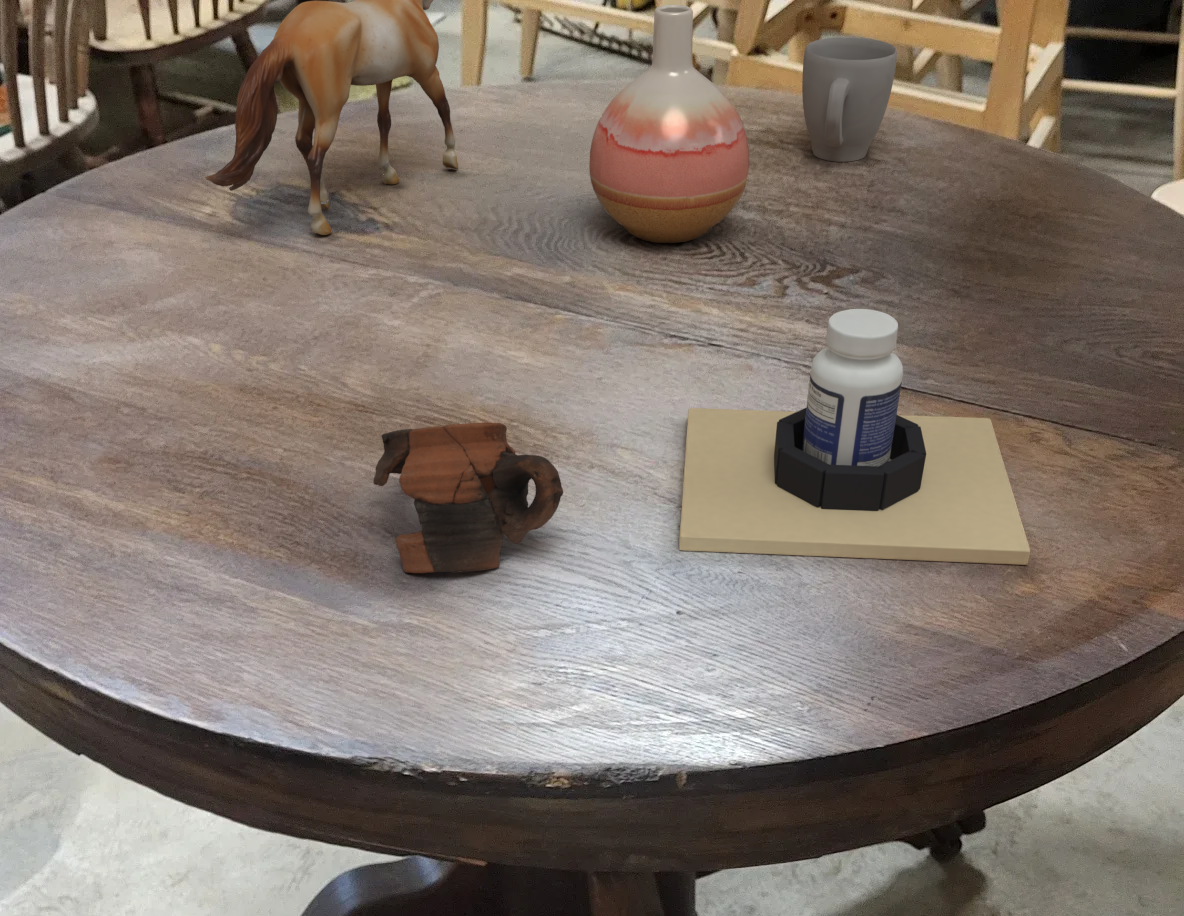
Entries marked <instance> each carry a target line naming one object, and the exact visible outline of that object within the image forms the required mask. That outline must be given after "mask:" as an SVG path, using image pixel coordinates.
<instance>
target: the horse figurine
mask: <svg viewBox="0 0 1184 916" xmlns="http://www.w3.org/2000/svg"><path fill="white" fill-rule="evenodd" d="M433 1H434V0H352V1H349V2H340V1H339V2H338V1H331V0H330V1H329V0H309V1H308V0H307V1H303V2H300V3H299V4H297V5H296V6H295V7H294V8H293V9H292V10H291V11H290V12H289V13H288V14H287V15H286V16H285V18H284V19H283V20H282V21H281V22H280V24H279V25H278V27H277V30H276V32H275V34H274V36H273V39H272V40H271V41H270V43H269V44H268V45H267V46H266V47H265V48H264V49H263V50H262V51H261V53H260V54H259V56H257V58H256V59H255V60H254V61H253V63H252V64H251V65H250V66H249V68H248V71H247V72H246V74H245V76H244V79H243V81H242V83H241V85H240V87H239V90H238V94H237V96H236V109H235V123H234V127H235V146H234V154H233V157H232V159H231V160H230V161H229V162H228V163H226V164H225V166H223V167H222V168H221V169H220V170H218V171H217V172H215V173H214V174H210V175H208V176H205V178H204V179H205V180H207V181H209V182H211V183H212V184H214V185H216V186H220V187H228V189H229V191H231V192H233V191H235V190H237V189H239V188H241V187H243V186H244V185H245V184H247V183H248V182H249V181H250V180H251V178H252V177H253V175H254V171H255V167H256V165H257V164H258V162H259V161H260V159H261V158H262V156H263V154H264V153H265V151H266V150H267V149H268V148H269V146H270V143H271V141H272V139H273V134H274V132H275V130H276V125H277V121H278V103H277V96H276V93H275V84H276V83H277V84H278V83H280V84H281V86H282V87H283V88H284V89H285V91H287V92H288V93H289V94H290V95H292V96H293V97H295V98H296V99H297V101H298V111H297V112H298V114H297V115H298V116H297V122H298V124H297V129H296V133H295V137H294V138H295V140H294V141H295V146H296V148H297V150H298V151H299V152H300V154H301V155H302V157H303V159H304V162H305V163H306V166H307V170H308V173H309V178H310V194H309V195H310V198H309V202H308V208H307V213H308V214H309V216H311V217H313V219H312V221H311V223H310V228H311V231H312V232H313V233H315V234H318V235H322V236H326V235H329V234H331V233H332V231H333V230H332V228H331V225H330V224H329V223H328V221H327V219H326V217H325V216H324V214H323V211H322V210H324V211H328V210H329V209H330V200H329V194H328V191H327V189H326V187H325V178H324V174H323V165H324V160H325V156H326V154H327V152H328V151H329V149H330V147H331V145H332V144H333V142H334V140H335V137H336V134H337V130H338V126H339V122H340V116H341V114H342V110H343V108H344V106H345V105H346V104H347V102H348V100H349V98H350V92H351V86H356V87H357V86H358V87H366V86H375V90H376V91H375V92H376V97H377V98H376V99H377V105H378V109H377V114H376V115H377V116H376V123H377V127H378V132H379V151H378V156H377V163H378V164H377V165H378V166H379V167H380V168H381V169H382V173H381V177H382V180H383V183H384V184H385V185H395V184H399V183H400V178H399V176H398V174H397V172H396V169H394V167H392V166H391V165H390V153H389V134H390V130H391V128H392V116H391V112H390V98H391V92H392V88H393V87H392V86H393V81H394V80H395V79H398V78H402V77H408V78H412V79H413V80H414V81H415V82H416V83H417V84H418V85H419V86H420V88H421V89H422V91H423V92H424V93H425V95H426V96H427V97H428V98H429V99H430V100H431V102H432V104H433V106H434V107H435V109H436V110H437V114H438V116H439V118H440V121H441V123H442V126H443V129H444V145H445V146H446V149H445V151H444V152H443V154H442V165H443V166H444V167H445V168H448V169H453V170H457V171H458V169H459V163H458V162H459V161H458V156H457V152H456V139H455V134H454V130H453V125H452V121H451V120H452V119H451V108H450V104H449V101H448V98H447V96H446V90H445V87H444V84H443V82H442V79H441V77H440V71H439V69H438V67H437V62H438V58H439V49H440V42H439V37H438V34H437V32H436V30H435V28H434V26H433V24H432V23H431V21H430V19H429V17H428V15H427V14H426V11H428V10H429V9H430V8H431V4H432V3H433ZM313 135H314V136H313ZM313 138H314V139H313ZM383 174H384V175H383ZM327 200H329V201H328V203H326V204H321V202H326V201H327Z"/></svg>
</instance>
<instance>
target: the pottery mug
mask: <svg viewBox="0 0 1184 916" xmlns="http://www.w3.org/2000/svg"><path fill="white" fill-rule="evenodd" d="M507 431H508V428H507V425H505V424H503V423H500V422H484V421H483V422H469V423H456V424H455V423H454V424H445V425H442V426H441V425H435V426H434V425H433V426H425V427H418V428H416V427H415V428H405V429H398V430H397V429H396V430H393V431H389V432H386V433H383V434H381V440H382V443H383V450H384V451H383V454H382V455H381V457H380V458H379V460H378V461H377V463H376V466H375V472H374V476H373V484H374V486H380V487H383V486H385V485H386V484H387V483H388V480H389V478H390V475H391V474H397V475H399V478H398V483H399V485H400V489H401V490H402V492H403V493H404V495H406V496H407V497H409V498H410V499H414V501H413V505H414V508H415V511H416V514H417V517H418V522H419V523H420V526H421V530H420V531H417V532H412V533H405V534H402V533H401V534H399V535H398V536H397V537H396V539H395V544H396V549H397V552H398V553H399V557H400V561H401V565H402V568H403V571H404V572H405V573H407V574H408V573H410V574H427V573H444V572H445V573H447V572H449V573H453V574H456V573H470V572H479V571H486V570H492V569H497V568H499V567H500V564H501V550H502V548H503V547H502V545H503V538H504V536H505V537H506V539H508V540H509V542H510V543H511V544H514V545H515V546H516V545H517V546H518V545H520V544H521V543H522V542H523V541H524V539H525V538H526V536H527V535H528V532H530V531H533V530H538V529H540V528H542V527H543V526H545V525H546V524H547V523H548V522H549V521H550V519H552V517H553V516H554V515H555V513H556V511H557V510H558V508H559V505H560V502H561V498H562V496H563V495H564V489H563V487H562V482H561V477H560V474H559V471H558V470H557V468H556V466H555V465H554V464H553V463H552V461H550V460H549V459H547V458H546V457H544V456H541V455H536V454H517V452H516V451H515V449H514V448H513V447H512V446H510V444H509V443H508V439H507ZM531 480H532V481H533V483H534V486H535V494H534V498H533V499H532V501H531V503H530V504H529V502H528V495H529V484H530V481H531Z"/></svg>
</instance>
